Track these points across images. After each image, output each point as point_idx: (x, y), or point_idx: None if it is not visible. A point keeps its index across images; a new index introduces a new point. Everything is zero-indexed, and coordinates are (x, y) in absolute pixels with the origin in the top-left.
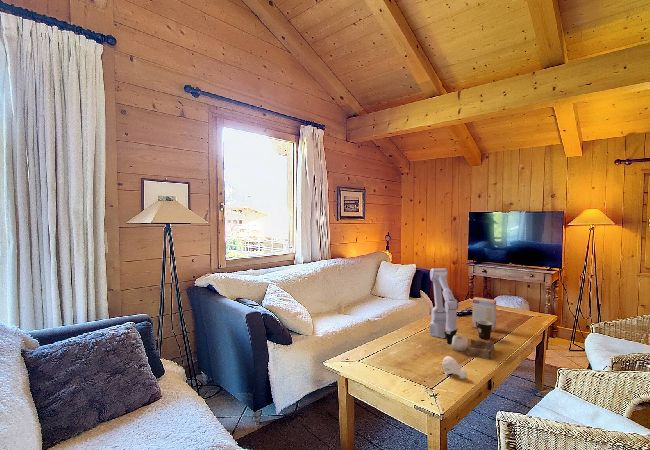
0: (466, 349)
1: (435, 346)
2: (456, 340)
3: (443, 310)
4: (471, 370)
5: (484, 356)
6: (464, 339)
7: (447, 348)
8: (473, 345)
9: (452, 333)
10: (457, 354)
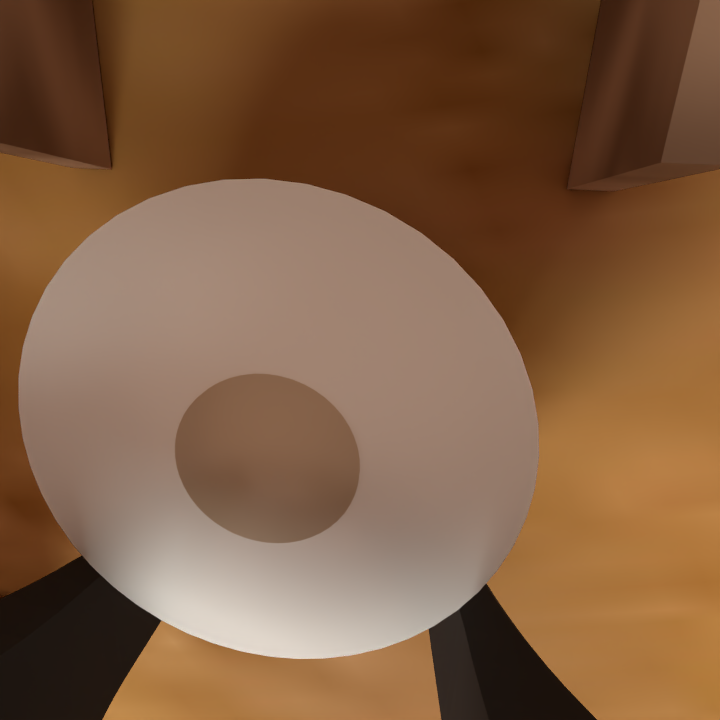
0: (687, 175)
1: None
2: (519, 521)
3: None
4: None
5: None
6: (310, 293)
7: None
8: (85, 94)
9: (77, 677)
10: (681, 356)
